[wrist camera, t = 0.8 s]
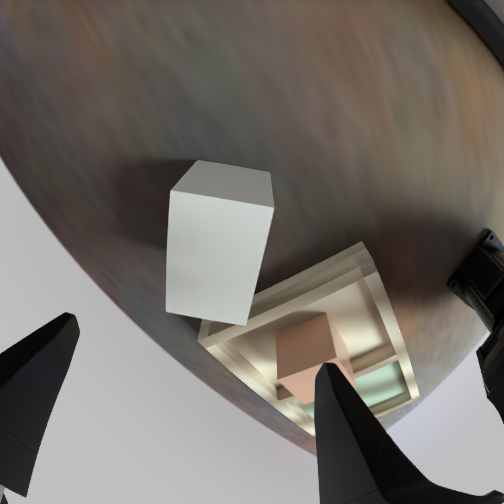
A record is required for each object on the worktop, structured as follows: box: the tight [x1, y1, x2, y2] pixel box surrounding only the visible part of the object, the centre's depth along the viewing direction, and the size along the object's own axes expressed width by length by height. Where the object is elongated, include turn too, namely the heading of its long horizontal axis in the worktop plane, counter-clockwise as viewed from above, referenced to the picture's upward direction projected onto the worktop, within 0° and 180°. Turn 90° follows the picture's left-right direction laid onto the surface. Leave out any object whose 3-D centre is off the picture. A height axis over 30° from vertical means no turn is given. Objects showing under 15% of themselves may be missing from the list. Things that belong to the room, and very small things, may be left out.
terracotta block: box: [275, 313, 356, 404], centre depth 21 cm, size 4×4×4 cm
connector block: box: [166, 160, 274, 326], centre depth 17 cm, size 4×7×6 cm, turn 169°
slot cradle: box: [197, 241, 420, 438], centre depth 25 cm, size 23×14×2 cm, turn 32°
